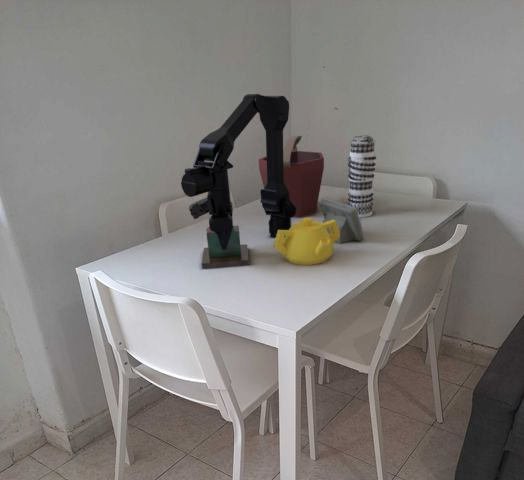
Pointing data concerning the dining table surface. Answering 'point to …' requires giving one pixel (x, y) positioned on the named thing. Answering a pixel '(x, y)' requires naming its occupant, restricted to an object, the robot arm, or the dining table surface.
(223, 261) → the brown square board
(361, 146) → the black white tall cylinder
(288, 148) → the bucket
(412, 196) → the dining table surface
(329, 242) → the teapot
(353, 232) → the digital clock
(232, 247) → the green box
